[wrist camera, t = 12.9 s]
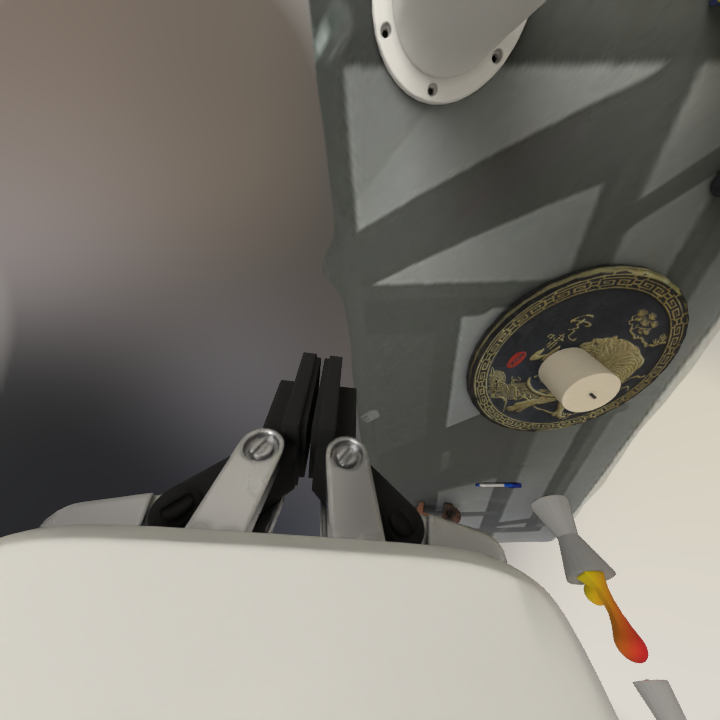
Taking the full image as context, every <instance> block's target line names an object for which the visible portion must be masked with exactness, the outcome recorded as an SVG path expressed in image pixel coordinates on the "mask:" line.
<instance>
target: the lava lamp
mask: <svg viewBox="0 0 720 720" xmlns="http://www.w3.org/2000/svg"><path fill="white" fill-rule="evenodd" d="M531 508H532V510H533V511H534V512H535V513H536V515H537V516H538V517H539V518H540V519H541V520H542V521H543V523H544V524H545V525H546V526H547V527H548V528H549V529H550V531H551V532H552V533H553V534H554V535H555V536H556V537H557V539H558V541H559V545H560V550H561V555H562V560H563V565H564V570H565V575H566V579H567V581H568V582H569V583H571V584H579V585H583V584H585V586H584V592H585V595H586V597H587V598H588V599H589V600H590V601H591V602H592V603H594V604H596V605H605V607H606V609H607V611H608V613H609V616H610V620H611V624H612V630H613V638H614V642H615V644H616V646H617V648H618V649H619V651H620V652H621V653H622V654H623V655H624V656H625V657H626V658H627V659H629V660H631V661H633V662H636V663H643V662H645V661H646V660H647V658H648V650H647V647H646V645H645V643H644V642H643V640H642V639H641V638H640V636H639V635H638V634H637V633H636V631H635V630H634V629H633V628H632V627H631V625H630V624H629V622H628V621H627V619H626V618H625V617H624V615H623V614H622V612H621V611H620V609H619V607H618V606H617V604H616V603H615V601H614V599H613V597H612V595H611V593H610V591H609V589H608V587H607V583H606V580H609V579H611V578H612V577H614V576H615V575H616V573H615V571H614V570H613V569H612V568H611V567H610V566H609V565H608V564H607V563H606V562H605V561H604V560H603V559H602V558H601V557H600V556H599V555H598V554H597V553H596V552H595V551H594V550H593V549H592V548H591V547H590V546H589V545H588V544H587V543H586V542H585V541H584V540H583V539H582V538H581V537H580V536H579V535H578V533H577V529H576V526H575V522H574V519H573V515H572V512H571V508H570V505H569V501H568V498H567V497H565V496H562V495H550V496H545V497H542V498H540V499H538V500H536V501H534V502H533V504H532V505H531ZM633 684H634V686H635V687H636V688H637V690H638V692H639V693H640V695H641V696H642V698H643V699H644V701H645V702H646V704H647V706H648V707H649V709H650V710H651V712H652V713H653V715H654V716H655V718H656V719H657V720H686V718H685V716H684V714H683V711H682V709H681V707H680V705H679V703H678V701H677V699H676V697H675V695H674V693H673V690H672V688H671V686H670V685H669V682H668V681H667V680H644V681H637V682H633Z"/></svg>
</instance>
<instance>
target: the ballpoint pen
mask: <svg viewBox="0 0 720 720" xmlns="http://www.w3.org/2000/svg"><path fill="white" fill-rule="evenodd" d="M476 486H479V487H508V488H520V487H521V486H522V485H521V484H518V483H504V484H476Z"/></svg>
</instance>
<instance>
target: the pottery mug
mask: <svg viewBox="0 0 720 720" xmlns="http://www.w3.org/2000/svg"><path fill="white" fill-rule="evenodd" d="M423 507H424V503H423V502H420V503H419V505H418V508H416V510H417V511H418V512H419V514H422V515H425V516H428V515H429V514H427V513H424V512H423ZM442 518H444V519H447V520H450V521H453V522H456V523H459V522H460V519H461V515H460V512H459V511H458V509H457V508H455V507H454V506H452V504H448V503H444V512H443V515H442Z"/></svg>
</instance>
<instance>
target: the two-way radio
mask: <svg viewBox="0 0 720 720" xmlns="http://www.w3.org/2000/svg"><path fill="white" fill-rule="evenodd" d="M712 192H713V194H714V195H715V196H718V197H720V173H719V174H718V175H717V177H716V178H715V181H714V183H713V185H712Z"/></svg>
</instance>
